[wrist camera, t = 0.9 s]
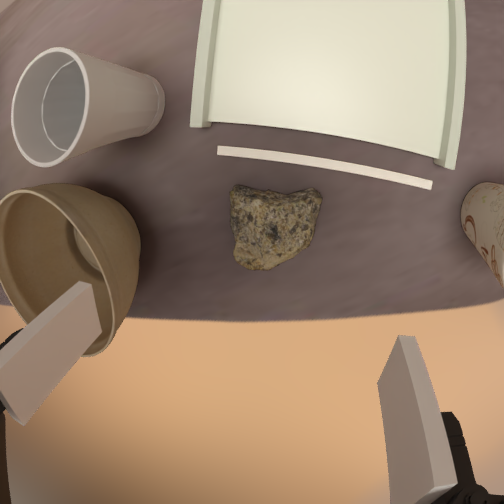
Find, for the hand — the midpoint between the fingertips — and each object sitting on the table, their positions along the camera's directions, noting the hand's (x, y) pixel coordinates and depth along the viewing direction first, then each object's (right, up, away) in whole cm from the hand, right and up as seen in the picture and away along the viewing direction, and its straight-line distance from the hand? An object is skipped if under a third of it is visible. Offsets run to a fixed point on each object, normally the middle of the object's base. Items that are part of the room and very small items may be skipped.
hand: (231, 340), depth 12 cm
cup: (-10, +17, +13) cm, 24 cm away
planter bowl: (-15, +5, +20) cm, 25 cm away
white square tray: (+8, +22, +8) cm, 24 cm away
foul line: (+7, +11, +13) cm, 18 cm away
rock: (+2, +7, +16) cm, 17 cm away
